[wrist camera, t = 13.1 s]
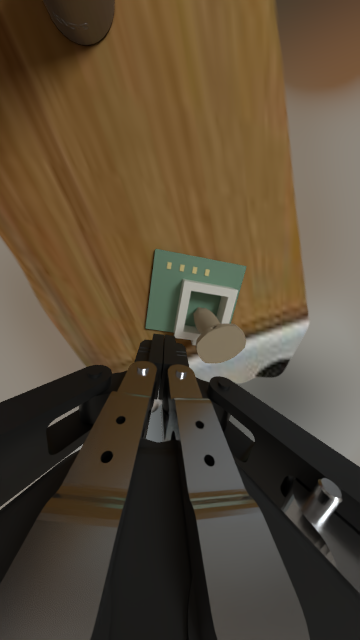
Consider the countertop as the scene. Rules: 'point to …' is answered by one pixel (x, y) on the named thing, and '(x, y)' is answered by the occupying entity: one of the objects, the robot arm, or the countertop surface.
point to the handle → (217, 338)
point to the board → (169, 281)
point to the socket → (187, 286)
